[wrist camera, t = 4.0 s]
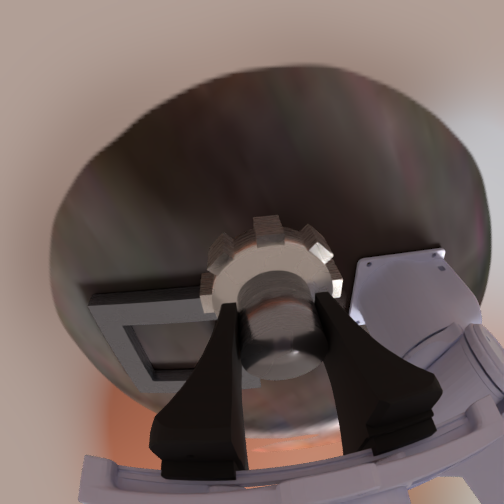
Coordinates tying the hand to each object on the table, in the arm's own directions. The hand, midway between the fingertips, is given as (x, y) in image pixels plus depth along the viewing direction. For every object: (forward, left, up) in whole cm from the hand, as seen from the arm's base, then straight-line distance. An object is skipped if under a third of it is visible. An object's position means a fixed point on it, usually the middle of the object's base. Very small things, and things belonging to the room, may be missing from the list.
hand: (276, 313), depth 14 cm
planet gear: (0, 0, -3) cm, 3 cm away
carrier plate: (+8, +12, -9) cm, 17 cm away
